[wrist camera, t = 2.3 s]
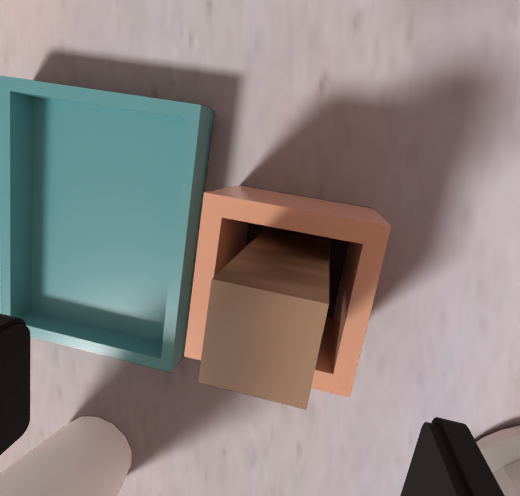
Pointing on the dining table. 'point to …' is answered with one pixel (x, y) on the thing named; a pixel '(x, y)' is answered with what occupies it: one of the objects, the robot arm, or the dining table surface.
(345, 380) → the holder cup
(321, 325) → the walnut stick
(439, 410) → the dining table surface
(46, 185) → the tray
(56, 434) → the foam cup
